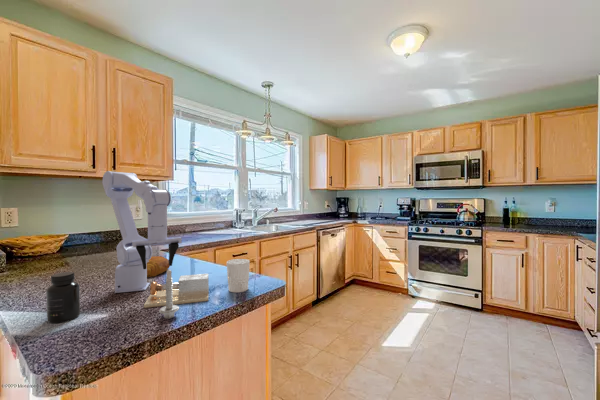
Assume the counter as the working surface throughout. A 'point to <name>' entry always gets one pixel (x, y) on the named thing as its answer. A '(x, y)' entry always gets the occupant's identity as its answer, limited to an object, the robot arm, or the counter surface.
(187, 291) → the bearing block
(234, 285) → the white cup
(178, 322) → the counter surface
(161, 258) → the croissant
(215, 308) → the counter surface
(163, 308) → the screw
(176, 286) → the shaft
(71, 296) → the supplement bottle
